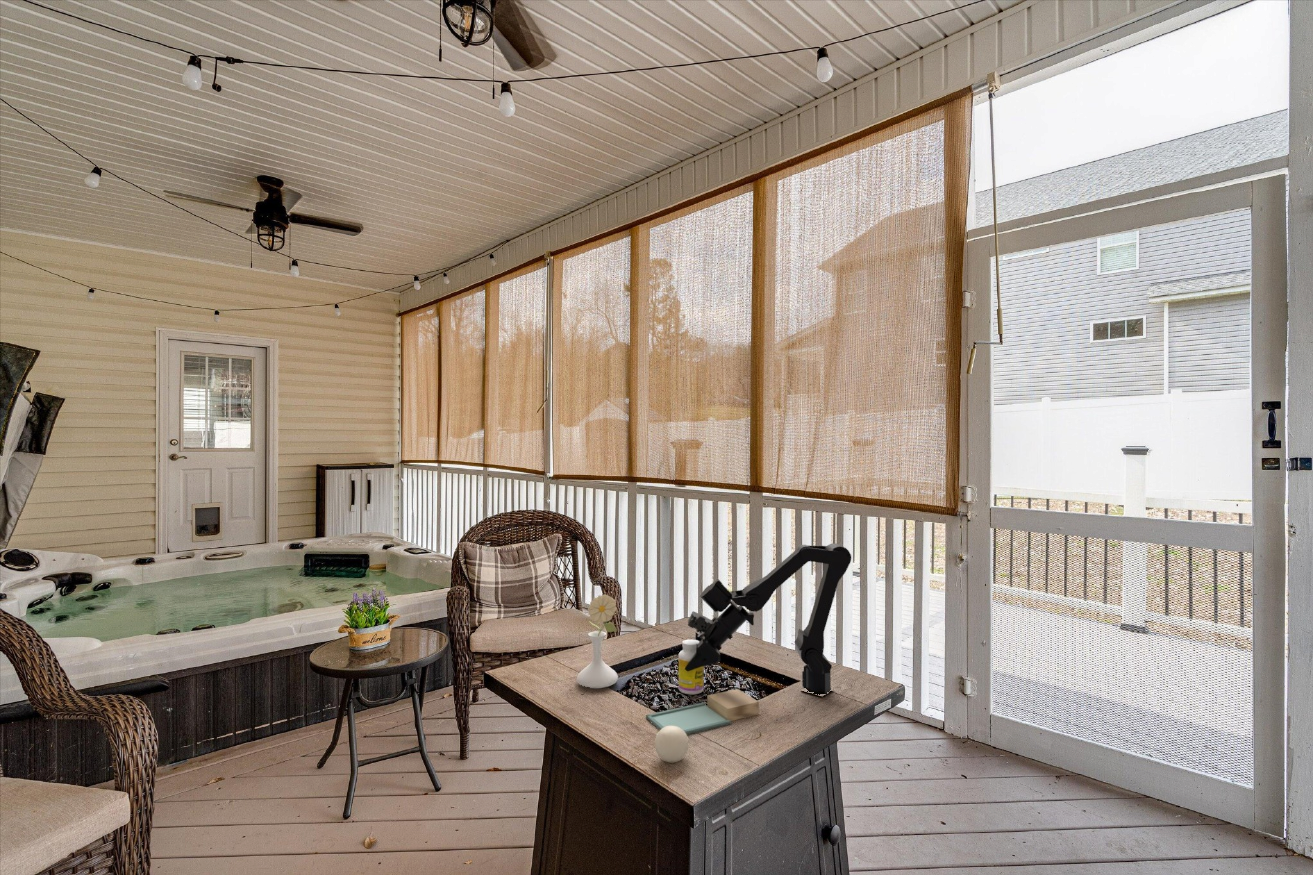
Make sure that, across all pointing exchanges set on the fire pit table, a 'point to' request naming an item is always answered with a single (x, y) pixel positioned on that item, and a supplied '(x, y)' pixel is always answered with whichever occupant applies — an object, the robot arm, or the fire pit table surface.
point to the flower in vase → (599, 645)
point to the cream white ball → (671, 744)
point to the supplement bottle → (690, 679)
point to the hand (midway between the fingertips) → (685, 665)
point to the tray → (688, 718)
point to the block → (733, 704)
